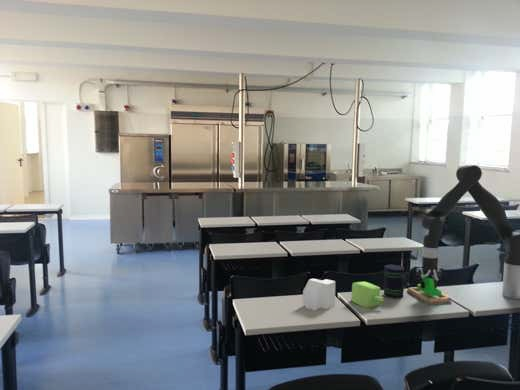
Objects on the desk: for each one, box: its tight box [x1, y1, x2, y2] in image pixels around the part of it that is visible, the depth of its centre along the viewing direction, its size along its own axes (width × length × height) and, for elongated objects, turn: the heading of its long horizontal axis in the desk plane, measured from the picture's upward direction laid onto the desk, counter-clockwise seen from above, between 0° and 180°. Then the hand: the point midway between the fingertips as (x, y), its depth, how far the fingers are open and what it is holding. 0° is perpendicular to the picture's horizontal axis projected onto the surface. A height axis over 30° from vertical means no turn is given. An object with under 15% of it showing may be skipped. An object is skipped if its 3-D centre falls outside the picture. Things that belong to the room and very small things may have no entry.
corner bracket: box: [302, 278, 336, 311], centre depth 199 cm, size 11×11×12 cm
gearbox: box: [350, 281, 384, 309], centre depth 203 cm, size 18×10×10 cm, turn 30°
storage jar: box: [383, 264, 405, 299], centre depth 215 cm, size 10×10×15 cm
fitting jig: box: [406, 286, 452, 306], centre depth 213 cm, size 12×20×2 cm, turn 11°
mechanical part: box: [416, 277, 442, 296], centre depth 212 cm, size 12×6×8 cm, turn 9°
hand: (428, 287), depth 213 cm, fingers closed on mechanical part, 6 cm apart
